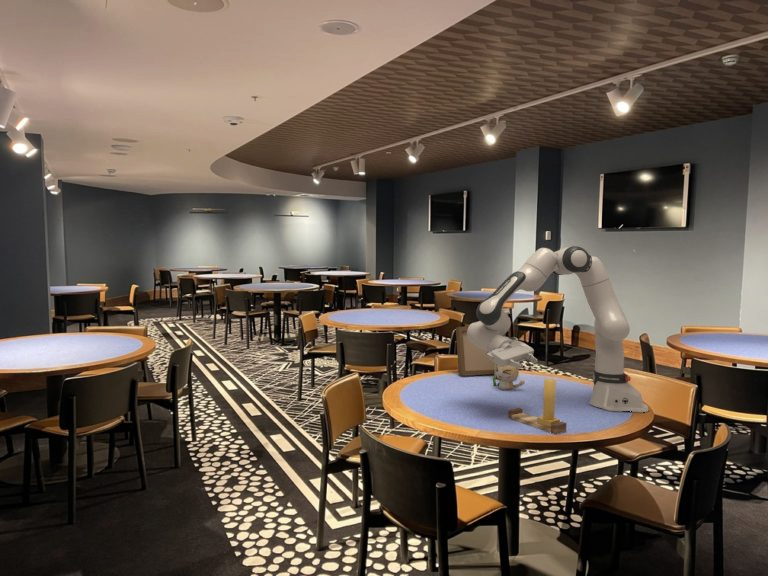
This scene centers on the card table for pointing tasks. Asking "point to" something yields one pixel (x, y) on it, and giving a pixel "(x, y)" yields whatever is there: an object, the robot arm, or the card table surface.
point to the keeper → (548, 404)
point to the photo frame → (471, 356)
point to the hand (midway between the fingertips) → (528, 364)
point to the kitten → (507, 377)
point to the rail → (535, 421)
